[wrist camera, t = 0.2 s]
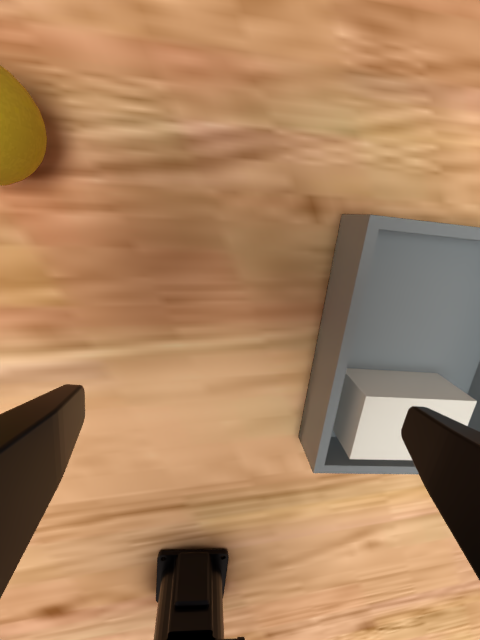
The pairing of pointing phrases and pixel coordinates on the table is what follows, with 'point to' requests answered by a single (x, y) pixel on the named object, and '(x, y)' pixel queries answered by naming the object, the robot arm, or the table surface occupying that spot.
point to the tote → (393, 322)
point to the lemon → (19, 131)
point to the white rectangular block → (391, 409)
